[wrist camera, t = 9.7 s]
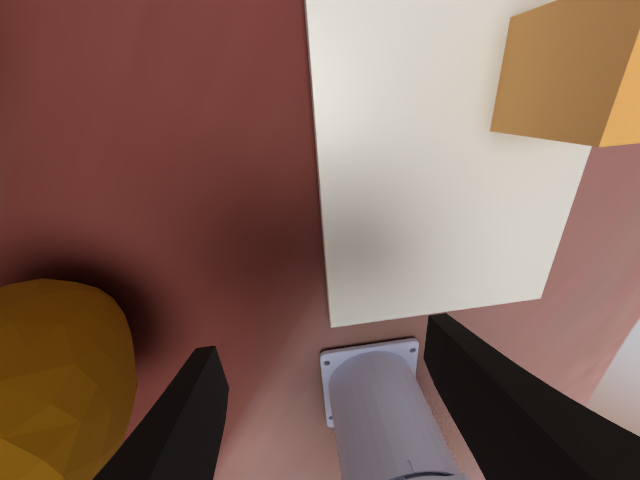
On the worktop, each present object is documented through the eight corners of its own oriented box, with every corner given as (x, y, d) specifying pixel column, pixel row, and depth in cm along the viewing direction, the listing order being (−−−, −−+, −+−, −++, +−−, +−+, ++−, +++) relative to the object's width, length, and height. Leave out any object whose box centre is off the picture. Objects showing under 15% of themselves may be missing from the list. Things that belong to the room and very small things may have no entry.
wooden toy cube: (609, 10, 14) (820, -48, 8) (575, 123, 16) (724, 134, 10) (510, 17, 13) (663, -40, 8) (489, 131, 16) (598, 147, 10)
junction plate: (530, 290, 22) (584, 332, 18) (328, 318, 21) (339, 368, 17) (637, -54, 13) (787, -119, 9) (301, -37, 12) (309, -102, 8)
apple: (204, 345, 21) (108, 639, 10) (72, 390, 22) (-170, 721, 10) (108, 216, 16) (-324, 499, 5) (-61, 277, 17) (-832, 674, 5)
